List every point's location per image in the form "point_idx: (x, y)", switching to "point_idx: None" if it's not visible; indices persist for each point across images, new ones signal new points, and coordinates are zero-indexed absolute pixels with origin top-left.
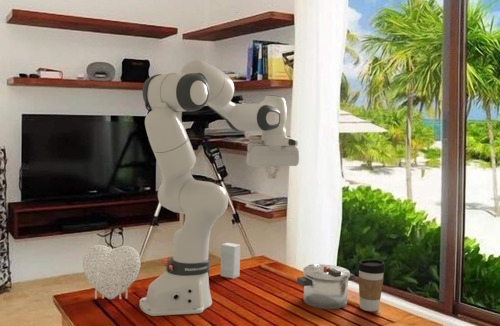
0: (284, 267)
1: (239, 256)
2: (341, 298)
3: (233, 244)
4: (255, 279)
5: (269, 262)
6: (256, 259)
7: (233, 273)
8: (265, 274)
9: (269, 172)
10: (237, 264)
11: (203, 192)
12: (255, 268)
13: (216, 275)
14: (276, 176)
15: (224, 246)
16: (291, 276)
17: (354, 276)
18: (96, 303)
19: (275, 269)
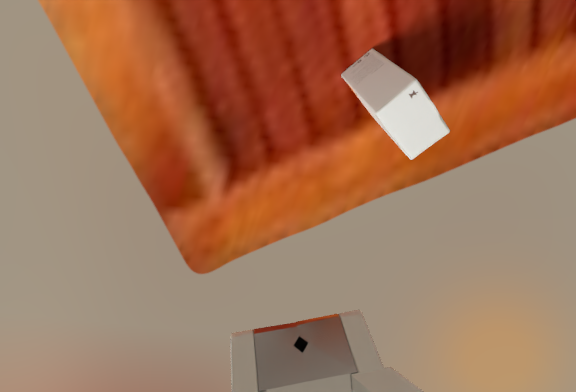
0: (142, 152)
1: (364, 92)
2: None
3: (402, 122)
4: (296, 26)
5: (183, 214)
6: (219, 248)
7: (378, 52)
8: (239, 80)
9: (405, 386)
10: (366, 75)
11: None
12: (254, 155)
13: None
14: (238, 351)
15: (440, 116)
16: (142, 36)
17: None
18: None
19: (183, 133)
